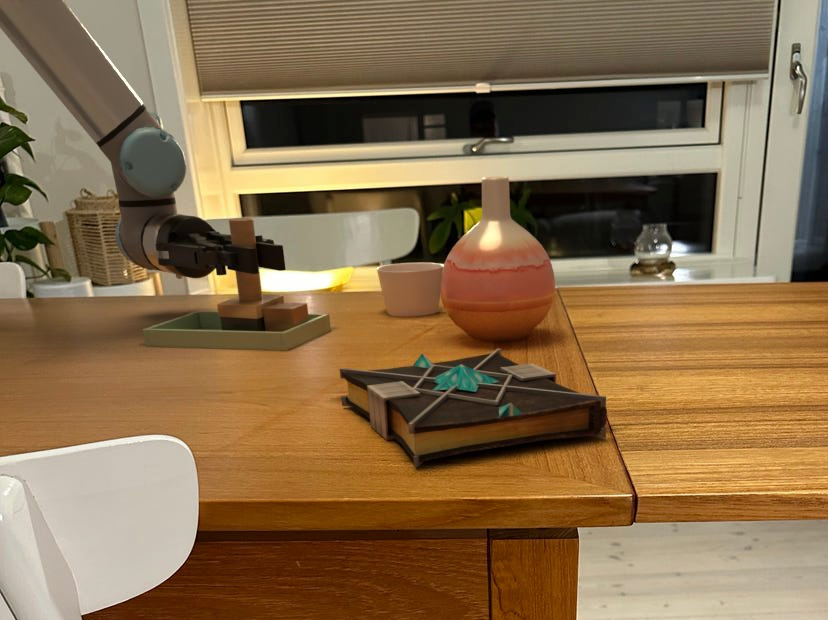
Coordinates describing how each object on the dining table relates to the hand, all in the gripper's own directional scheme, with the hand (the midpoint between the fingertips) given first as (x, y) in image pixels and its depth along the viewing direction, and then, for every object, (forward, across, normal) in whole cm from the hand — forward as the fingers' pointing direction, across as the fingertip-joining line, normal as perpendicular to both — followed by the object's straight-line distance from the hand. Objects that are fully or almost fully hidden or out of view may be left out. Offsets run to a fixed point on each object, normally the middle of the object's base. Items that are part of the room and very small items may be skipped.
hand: (267, 259), depth 110 cm
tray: (-7, +1, -10) cm, 13 cm away
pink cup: (-6, -24, -10) cm, 27 cm away
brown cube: (-2, -2, -10) cm, 10 cm away
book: (+41, +4, -10) cm, 42 cm away
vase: (+15, -22, -10) cm, 29 cm away
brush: (-6, 0, -9) cm, 11 cm away
